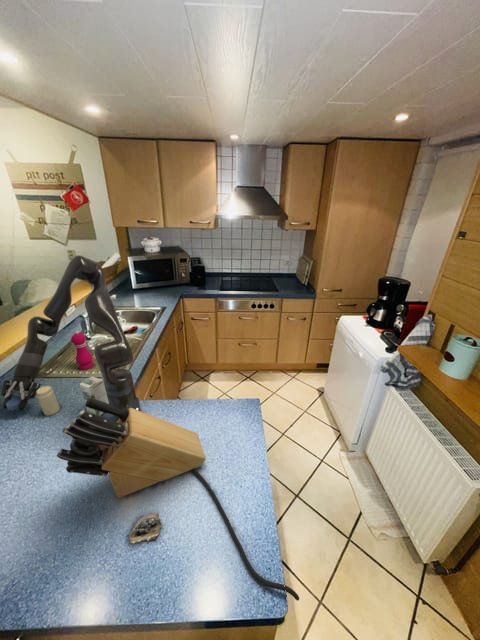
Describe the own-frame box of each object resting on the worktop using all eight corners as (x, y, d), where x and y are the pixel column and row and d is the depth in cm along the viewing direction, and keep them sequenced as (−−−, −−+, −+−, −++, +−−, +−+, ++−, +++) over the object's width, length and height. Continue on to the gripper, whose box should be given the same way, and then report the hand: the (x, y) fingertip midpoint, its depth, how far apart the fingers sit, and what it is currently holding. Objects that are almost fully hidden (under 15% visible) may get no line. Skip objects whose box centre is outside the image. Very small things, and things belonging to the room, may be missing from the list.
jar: (62, 408, 101) (54, 387, 96) (49, 417, 96) (40, 395, 92) (54, 404, 103) (46, 383, 98) (40, 412, 98) (31, 391, 94)
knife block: (84, 476, 76) (53, 397, 63) (197, 438, 89) (191, 366, 76) (78, 514, 67) (41, 432, 53) (206, 466, 79) (201, 389, 66)
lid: (11, 401, 98) (9, 397, 98) (28, 398, 100) (26, 394, 99) (4, 411, 94) (2, 408, 93) (22, 407, 95) (21, 404, 95)
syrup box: (87, 413, 98) (78, 384, 92) (100, 403, 103) (92, 375, 97) (98, 418, 96) (89, 388, 90) (110, 407, 101) (102, 378, 95)
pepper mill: (87, 371, 123) (76, 335, 114) (74, 369, 124) (63, 333, 116) (97, 363, 129) (88, 328, 121) (85, 361, 130) (75, 327, 122)
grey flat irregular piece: (165, 533, 63) (164, 529, 62) (132, 555, 59) (130, 551, 58) (157, 508, 68) (156, 504, 67) (126, 527, 64) (125, 523, 63)
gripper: (52, 368, 104) (38, 411, 98) (21, 365, 105) (5, 407, 100) (37, 365, 97) (20, 411, 91) (4, 362, 98) (-15, 407, 92)
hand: (12, 409), depth 95 cm, fingers closed on lid, 5 cm apart
